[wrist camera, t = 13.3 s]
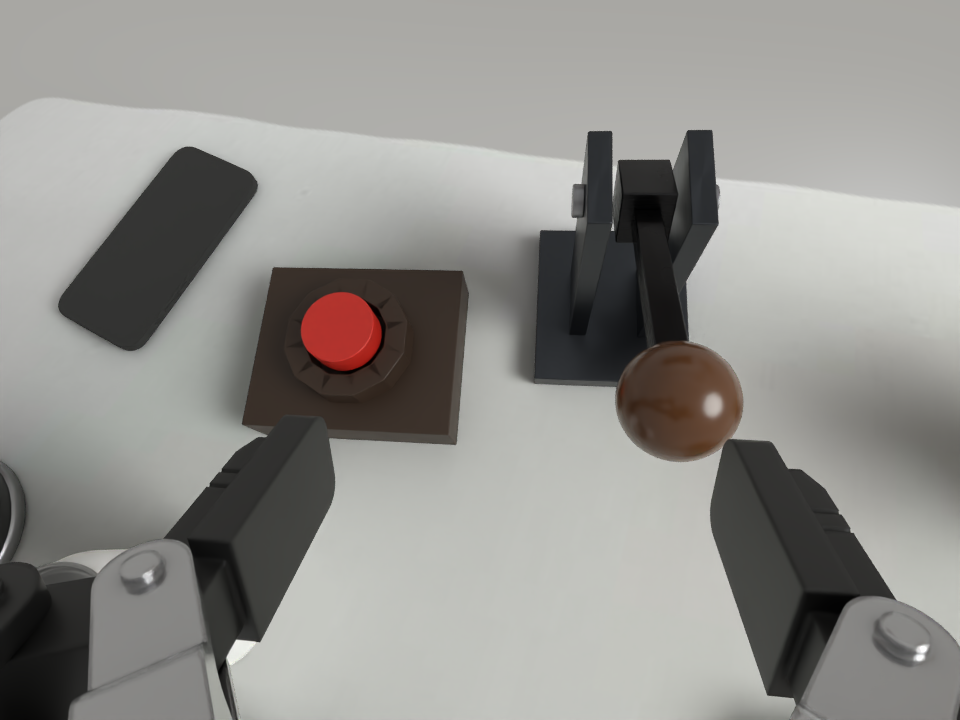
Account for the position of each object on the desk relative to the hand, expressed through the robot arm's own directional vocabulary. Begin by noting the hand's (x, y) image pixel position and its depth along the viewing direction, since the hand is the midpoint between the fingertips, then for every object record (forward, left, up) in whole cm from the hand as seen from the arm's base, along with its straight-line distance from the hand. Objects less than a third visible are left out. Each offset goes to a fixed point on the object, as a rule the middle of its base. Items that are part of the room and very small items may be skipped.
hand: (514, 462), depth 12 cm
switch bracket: (+4, +13, -22) cm, 26 cm away
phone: (-27, +17, -22) cm, 38 cm away
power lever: (+4, +7, -9) cm, 12 cm away
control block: (-11, +9, -22) cm, 26 cm away
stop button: (-11, +9, -17) cm, 22 cm away
